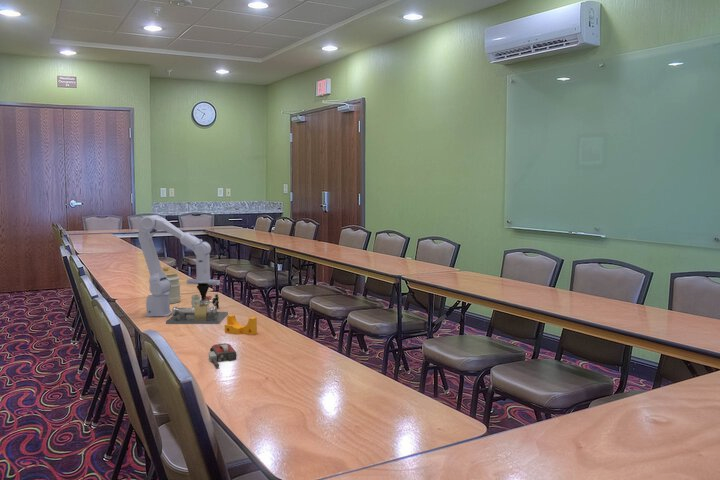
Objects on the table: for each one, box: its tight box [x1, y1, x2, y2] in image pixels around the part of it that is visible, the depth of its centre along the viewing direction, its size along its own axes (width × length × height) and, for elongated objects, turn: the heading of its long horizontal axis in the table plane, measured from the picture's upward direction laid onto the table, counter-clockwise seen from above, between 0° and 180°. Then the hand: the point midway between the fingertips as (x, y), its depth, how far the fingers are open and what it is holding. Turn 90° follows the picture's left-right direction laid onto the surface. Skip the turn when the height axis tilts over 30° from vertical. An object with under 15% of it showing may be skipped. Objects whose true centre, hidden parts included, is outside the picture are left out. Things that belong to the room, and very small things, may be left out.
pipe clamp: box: [224, 314, 258, 336], centre depth 231 cm, size 12×4×6 cm, turn 67°
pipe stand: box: [165, 303, 228, 325], centre depth 254 cm, size 22×18×6 cm
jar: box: [162, 265, 181, 305], centre depth 289 cm, size 13×13×18 cm
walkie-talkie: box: [208, 342, 238, 368], centre depth 198 cm, size 9×4×20 cm
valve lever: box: [200, 295, 212, 306], centre depth 257 cm, size 11×2×2 cm, turn 175°
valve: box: [191, 293, 220, 309], centre depth 274 cm, size 7×7×12 cm
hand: (203, 300), depth 260 cm, fingers closed, pressing on valve lever
